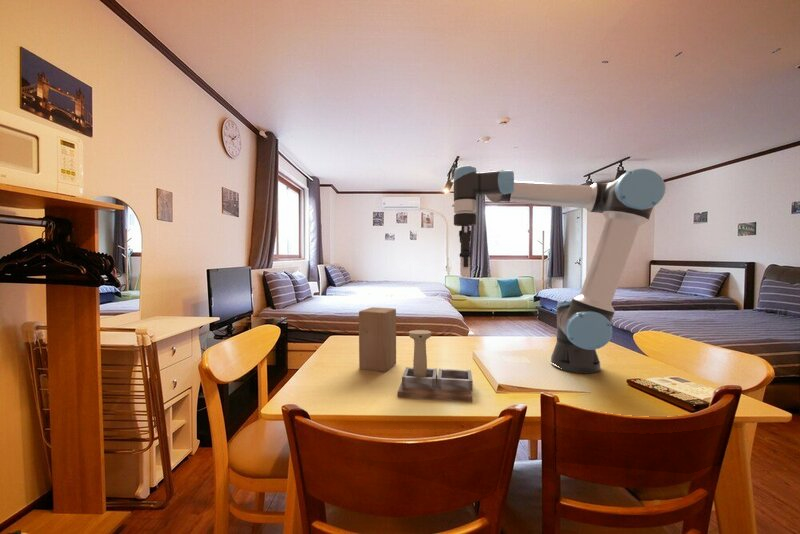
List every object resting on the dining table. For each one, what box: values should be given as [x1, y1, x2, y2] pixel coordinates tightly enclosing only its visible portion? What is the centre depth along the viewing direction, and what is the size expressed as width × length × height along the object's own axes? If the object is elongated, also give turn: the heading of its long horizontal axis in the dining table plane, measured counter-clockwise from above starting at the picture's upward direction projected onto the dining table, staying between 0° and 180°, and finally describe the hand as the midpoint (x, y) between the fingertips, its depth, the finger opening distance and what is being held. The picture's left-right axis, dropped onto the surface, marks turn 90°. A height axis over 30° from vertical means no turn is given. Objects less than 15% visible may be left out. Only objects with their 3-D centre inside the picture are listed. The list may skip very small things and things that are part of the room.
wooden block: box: [358, 307, 397, 373], centre depth 115 cm, size 10×10×20 cm
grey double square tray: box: [397, 366, 474, 403], centre depth 95 cm, size 20×14×4 cm
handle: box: [408, 329, 432, 377], centre depth 95 cm, size 5×6×15 cm
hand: (464, 276), depth 111 cm, fingers open, 13 cm apart
